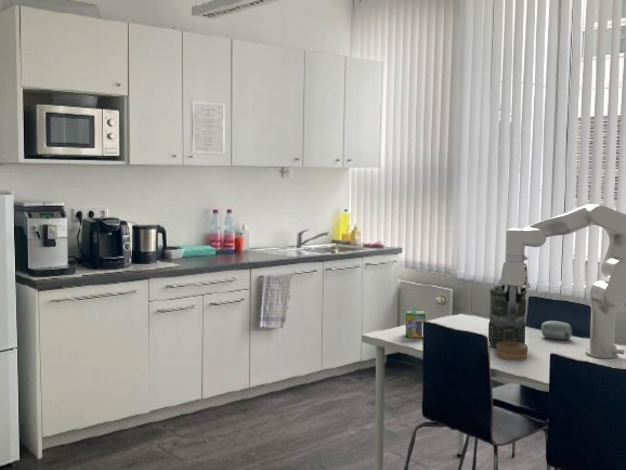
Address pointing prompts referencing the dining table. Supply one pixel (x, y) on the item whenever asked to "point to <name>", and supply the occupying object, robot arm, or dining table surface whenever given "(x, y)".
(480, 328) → the dining table surface
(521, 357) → the brown round short cylinder
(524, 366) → the dining table surface
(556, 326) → the grey-green rounded cylinder
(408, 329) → the chalk box
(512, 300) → the pin
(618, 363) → the dining table surface
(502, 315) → the canister
